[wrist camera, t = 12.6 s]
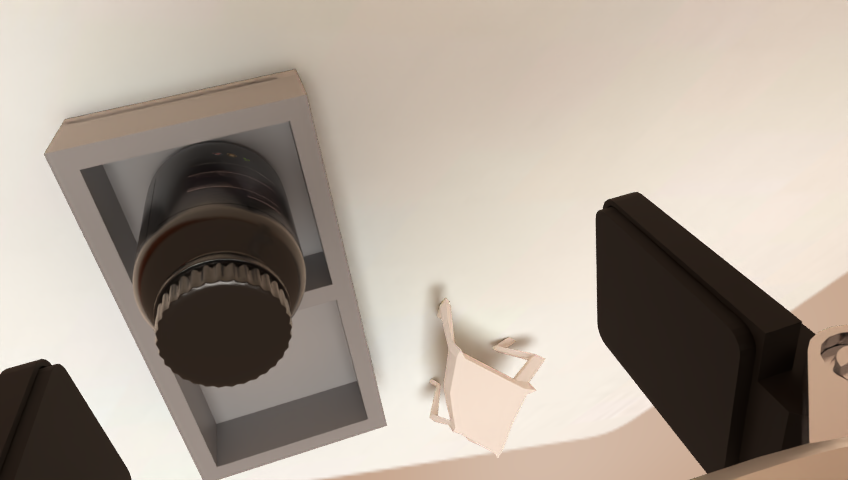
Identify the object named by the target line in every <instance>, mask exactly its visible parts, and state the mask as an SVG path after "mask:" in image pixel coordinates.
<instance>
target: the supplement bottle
mask: <svg viewBox="0 0 848 480" xmlns="http://www.w3.org/2000/svg"><path fill="white" fill-rule="evenodd" d="M305 287H306V267H305V261H304V257H303V253H302V249H301V246H300V242H299V238H298V235H297V231H296V228H295V224H294V221H293V217H292V213H291V210H290V206H289V203H288V199H287V196H286V193H285V190H284V187H283V184H282V182H281V180H280V178H279V176H278V175H277V173H276V171H275V170H274V169H273V167H272V166H271V165H270V164H269V163H268V162H267V161H266V160H265V159H263V158H262V157H261V156H259V155H258V154H256V153H255V152H253V151H251V150H249V149H247V148H244V147H242V146H239V145H235V144H231V143H224V142H208V143H201V144H196V145H193V146H190V147H187V148H185V149H183V150H181V151H179V152H177V153H175V154H174V155H172V156H171V157H170V158H168V159H167V160H166V161H165V162H164V163H163V164H162V165H161V166H160V168H159V169H158V170H157V172H156V173H155V175H154V177H153V179H152V180H151V183H150V186H149V188H148V192H147V196H146V201H145V206H144V212H143V217H142V223H141V228H140V234H139V239H138V245H137V251H136V256H135V262H134V269H133V293H134V297H135V301H136V303H137V306H138V309H139V311H140V312H141V314H142V316H143V317H144V319H145V320H146V322H147V323H148V324H149V325H150V326H151V328H152V329H154V331H155V335H156V337H155V344H156V346H157V348H158V353H159V356H160V357H161V358H162V359H164V364H165V365H166V366H168V367H169V368H171V371H172V372H173V373H174V374H177V375H179V376H180V377H181V378H182V379H183V380H189V381H191V382H192V383H193V384H201V385H203V386H205V387H210V386H214V387H218V388H220V387H224V386H228V387H233V386H235V385H237V384H245V383H247V382H248V381H250V380H255V379H257V378H258V377H259V376H260V375H263V374H266V373H267V372H268V371H269V369H270V368H272V367H274V366H276V364H277V362H278V361H279V360H280V359H282V358H283V356H284V352H285V351H286V350H287V349H288V348H289V341H290V339H291V337H292V332H291V329H292V317H293V316H294V315H295V313H296V311H297V310H298V308H299V306H300V304H301V301H302V299H303V296H304V292H305Z"/></svg>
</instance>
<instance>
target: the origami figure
mask: <svg viewBox="0 0 848 480" xmlns="http://www.w3.org/2000/svg"><path fill="white" fill-rule="evenodd" d="M449 302H450V301H449V300H448V299H446V298H445V299H444V300H443V301H442V303H441V305H440V306H439V310H438V314H437V317H438V318H440V319H442V322H443V328H444V332H445V336H446V340H447V345H448V349H449V350H448V357H447V364H446V370H445V377H444V384H443V387H444V392H445V398H446V404H447V408H448V412H449V416H450V420H448V419H445V418H442V417H439V416H438V407H439V397H440V387H441V384H439V383H438V382H436V381H434V380H433V379H431V380H430V383H431V384H432V385H434V386H436V389H435V394H434V399H433V403H432V408H431V413H430V418H431V419H432V420H433V421H435V422H438V423H443V424H447V425H449V427H450V428H451V430H452V431H453V432H455V433H460V434H462V435H463V436H465V437H466V438H467V439H468V440H469V441H471V442H473V443H476V444H478V445H480V446H482V447H484V448H486V449H488V450H489V451H491V452H493V453H494V454H495V455H496V456H497V458H499V456H500V454H501V452H502V450H503V447H504V445H505V442H506V440H507V437H508V434H509V432H510V429H511V426H512V424H513V422H514V420H515V418H516V416H517V414H518V412H519V410H520V408H521V406H522V403H523V401H524V399H525V397H526V395H528V394H530V393H532V392H534V391H536V389H535V388H534V387H533V386H532V385H531V384H530V383H529V382H530V380H531V379H532V377H533V376H534V375H535V373H536V372H537V371H538V369H539V368H540V366H541V365H542V363H543V362H544V360H545V358H543V357H540V356H538V355H536V354H532V353H528V352H523V351H518V350H513V349H508V348H507V347H509V346H510V345H512V344H513V343H515V342H516V341H515V340H513V339H511V338H510V337H508V338H507V339H505V340H503V341H502V342H500V343H499V344H497V345H495V346H494V347H493V348H492V349H493V350H495V351H497V352H500V353H504V354H507V355H511V356H515V357H518V358H522V359H525V360H528V361H527V362H526V363H525V364H524V366H523V367H522V368H521V369H520V371H519V372H518V373H517V374H516V376H515V377H514V378H511V377H509V376H507V375H505V374H503V373H501V372H499V371H497V370H495V369H493V368H492V367H490V366H488V365H486V364H484V363H482V362H480V361H478V360H476V359H474V358H472V357H470V356H469V355H467V354H465V353H463V352H462V351H461V349H460V348H459V347H458V346H457V345H456V344H455V340H454V331H453V323H452V314H451V306H450V304H449Z"/></svg>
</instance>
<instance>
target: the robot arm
mask: <svg viewBox="0 0 848 480" xmlns="http://www.w3.org/2000/svg"><path fill="white" fill-rule="evenodd" d="M596 264H597V322H598V329H599V333H600V336H601V338H602V340H603V342H604V343H605V345H606V346H607V347H608V348H609V350H610V351H611V352H612V354H613V355H614V356H615V357H616V359H617V360H618V361H619V362H620V364H621V365H622V366H623V367H624V369H625V370H626V371H627V373H628V374H629V375H630V376H631V378H632V379H633V380H634V381H635V383H636V384H637V385H638V387H639V388H640V389H641V390H642V392H643V393H644V394H645V395H646V397H647V398H648V399H649V400H650V402H651V403H652V404H653V406H654V407H655V408H656V409H657V410H658V412H659V413H660V414H661V415H662V417H663V418H664V419H665V421H666V422H667V423H668V425H669V426H670V427H671V428H672V430H673V431H674V432H675V433H676V434H677V436H678V437H679V438H680V440H681V441H682V442H683V443H684V445H685V446H686V447H687V449H688V450H689V451H690V452H691V454H692V455H693V456H694V457H695V459H696V460H697V461H698V463H700V465H701V466H702V468H703V469H704V470H705V471H706V473H707V474H705V475H702V476H699V477H697V478H693V479H690V480H848V325H841V326H834V327H829V328H827V329H824V330H822V331H819V332H818V333H817V334H815V333H813V332H812V331H811V330H810V329H808V328H807V327H806V326H804V325H803V324H802V321H801V320H799V319H798V318H797V317H796V316H794V315H793V314H792V313H791V312H789V311H788V310H787V309H786V308H784V307H783V306H782V305H781V304H779V303H778V302H777V301H775V300H774V299H773V298H772V297H770V296H769V295H768V294H767V293H765V292H764V291H763V290H762V289H760V288H759V287H758V286H757V285H755V284H754V283H753V282H752V281H750V280H749V279H748V278H746V277H745V276H744V275H743V274H741V273H740V272H739V271H738V270H736V269H735V268H734V267H733V266H731V265H730V264H729V263H728V262H726V261H725V260H724V259H723V258H721V257H720V256H719V255H718V254H716V253H715V252H714V251H712V250H711V249H710V248H709V247H707V246H706V245H705V244H704V243H702V242H701V241H700V240H699V239H697V238H696V237H695V236H694V235H692V234H691V233H690V232H689V231H687V230H686V229H685V228H684V227H682V226H681V225H680V224H678V223H677V222H676V221H675V220H673V219H672V218H671V217H670V216H668V215H667V214H666V213H665V212H663V211H662V210H661V209H660V208H658V207H657V206H656V205H655V204H653V203H652V202H651V201H649V200H648V199H647V198H646V197H644V196H643V195H642V194H640V193H638V192H633V193H630V194H626V195H623V196H619V197H616V198H612V199H608V200H607V201H605V203H604V206H603V209H602V210H599V211H598V212H597V214H596ZM0 480H131V476H130V473H129V471H128V469H127V467H126V466H125V464H124V462H123V461H122V459H121V457H120V456H119V454H118V453H117V451H116V449H115V448H114V446H113V445H112V443H111V441H110V440H109V438H108V437H107V435H106V433H105V432H104V430H103V429H102V427H101V425H100V424H99V422H98V421H97V419H96V417H95V416H94V414H93V413H92V411H91V409H90V408H89V406H88V405H87V403H86V401H85V400H84V398H83V396H82V395H81V393H80V392H79V390H78V388H77V387H76V385H75V384H74V382H73V380H72V379H71V377H70V376H69V374H68V372H67V371H66V369H65V368H64V367H63V366H62V365H60V364H55V365H51V363H50V362H48V361H47V360H44V359H40V360H36V361H33V362H29V363H26V364H22V365H19V366H15V367H12V368H8V369H6V370H4V371H2V373H1V374H0Z"/></svg>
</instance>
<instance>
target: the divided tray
mask: <svg viewBox="0 0 848 480" xmlns="http://www.w3.org/2000/svg"><path fill="white" fill-rule="evenodd" d="M208 142H224V143H231V144H235V145H239V146H242V147H244V148H247V149H249V150H251V151H253V152H255V153H256V154H258V155H259V156H261V157H262V158H263V159H265V160H266V161H267V162H268V163H269V164H270V165H271V166H272V167H273V169H274V170H275V171H276V173H277V175H278V176H279V178H280V180H281V182H282V184H283V187H284V190H285V193H286V196H287V199H288V203H289V206H290V210H291V213H292V217H293V221H294V224H295V228H296V231H297V235H298V238H299V242H300V246H301V249H302V253H303V257H304V261H305V267H306V287H305V292H304V296H303V299H302V301H301V304H300V306H299V308H298V310H297V311H296V313H295V315H294V316H293V317H292V329H291V332H292V337H291V339H290V341H289V348H288V349H287V350H286V351H285V352H284V356H283V358H282V359H280V360H279V361H278V362H277V364H276V366H274V367H272V368H270V369H269V371H268V372H267V373H266V374H263V375H260V376H259V377H258V378H257V379H255V380H250V381H248V382H247V383H245V384H237V385H235V386H233V387H228V386H224V387H220V388H218V387H214V386H210V387H205V386H203V385H201V384H193V383H192V382H191V381H189V380H183V379H182V378H181V377H180V376H179V375H177V374H174V373H173V372H172V371H171V368H169V367H168V366H166V365H165V364H164V359H162V358H161V357H160V356H159V353H158V348H157V346H156V344H155V337H156V335H155V331H154V329H152V328H151V326H150V325H149V324H148V323H147V322H146V320H145V319H144V317H143V316H142V314H141V312H140V311H139V309H138V306H137V303H136V301H135V297H134V293H133V269H134V262H135V256H136V251H137V245H138V239H139V234H140V228H141V223H142V217H143V212H144V206H145V201H146V196H147V192H148V188H149V186H150V183H151V180H152V179H153V177H154V175H155V173H156V172H157V170H158V169H159V168H160V166H161V165H162V164H163V163H164V162H165V161H166V160H167V159H168V158H170V157H171V156H172V155H174V154H175V153H177V152H179V151H181V150H183V149H185V148H187V147H190V146H193V145H196V144H201V143H208ZM44 155H45V157H46V159H47V161H48V163H49V165H50V167H51V169H52V171H53V174H54V176H55V178H56V180H57V182H58V184H59V186H60V188H61V190H62V192H63V194H64V196H65V198H66V200H67V202H68V204H69V206H70V208H71V210H72V213H73V215H74V217H75V219H76V221H77V223H78V225H79V227H80V229H81V231H82V233H83V235H84V237H85V239H86V241H87V243H88V245H89V247H90V249H91V251H92V254H93V256H94V258H95V260H96V262H97V264H98V266H99V268H100V270H101V272H102V274H103V276H104V278H105V280H106V282H107V284H108V286H109V288H110V290H111V293H112V295H113V297H114V299H115V301H116V303H117V305H118V307H119V309H120V311H121V313H122V315H123V317H124V319H125V321H126V323H127V325H128V327H129V329H130V331H131V334H132V336H133V338H134V340H135V342H136V344H137V346H138V348H139V350H140V352H141V354H142V356H143V358H144V360H145V362H146V364H147V366H148V368H149V370H150V373H151V375H152V377H153V379H154V381H155V383H156V385H157V387H158V389H159V391H160V393H161V395H162V397H163V399H164V401H165V403H166V405H167V407H168V409H169V411H170V414H171V416H172V418H173V420H174V422H175V424H176V426H177V428H178V430H179V432H180V434H181V436H182V438H183V440H184V442H185V444H186V446H187V448H188V450H189V453H190V455H191V457H192V459H193V461H194V463H195V465H196V467H197V469H198V471H199V473H200V475H201V477H202V479H203V480H219V479H222V478H225V477H229V476H232V475H235V474H238V473H241V472H244V471H247V470H250V469H253V468H257V467H260V466H263V465H266V464H269V463H272V462H275V461H278V460H282V459H285V458H288V457H291V456H294V455H297V454H300V453H303V452H306V451H310V450H313V449H316V448H319V447H322V446H325V445H328V444H331V443H334V442H338V441H341V440H344V439H347V438H350V437H353V436H356V435H359V434H362V433H366V432H369V431H372V430H375V429H378V428H381V427H384V426H387V424H386V420H385V415H384V411H383V407H382V403H381V399H380V395H379V391H378V387H377V382H376V378H375V374H374V370H373V366H372V362H371V358H370V354H369V349H368V345H367V341H366V337H365V333H364V329H363V325H362V321H361V316H360V312H359V308H358V304H357V300H356V296H355V292H354V287H353V283H352V279H351V275H350V271H349V267H348V263H347V259H346V254H345V250H344V246H343V242H342V238H341V234H340V230H339V226H338V221H337V217H336V213H335V209H334V205H333V201H332V197H331V192H330V188H329V184H328V180H327V176H326V172H325V168H324V164H323V159H322V155H321V151H320V147H319V143H318V139H317V135H316V131H315V126H314V122H313V118H312V114H311V110H310V106H309V102H308V97H307V94H306V92H305V89H304V87H303V85H302V83H301V80H300V78H299V76H298V74H297V71H296V69H294V70H289V71H284V72H280V73H275V74H271V75H266V76H262V77H257V78H252V79H248V80H243V81H239V82H234V83H229V84H225V85H220V86H216V87H211V88H207V89H202V90H197V91H193V92H188V93H184V94H179V95H175V96H170V97H165V98H161V99H156V100H152V101H147V102H142V103H138V104H133V105H129V106H124V107H120V108H115V109H110V110H106V111H101V112H97V113H92V114H87V115H83V116H78V117H74V118H69V119H65V120H64V121H63V123H62V125H61V126H60V128H59V130H58V131H57V133H56V135H55V136H54V138H53V140H52V141H51V143H50V145H49V146H48V148H47V150H46V151H45V153H44Z"/></svg>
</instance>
